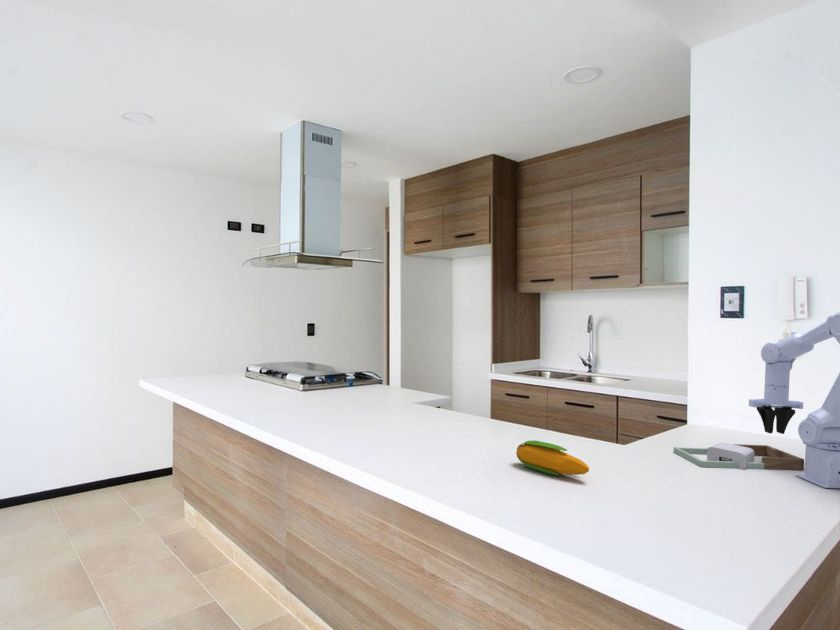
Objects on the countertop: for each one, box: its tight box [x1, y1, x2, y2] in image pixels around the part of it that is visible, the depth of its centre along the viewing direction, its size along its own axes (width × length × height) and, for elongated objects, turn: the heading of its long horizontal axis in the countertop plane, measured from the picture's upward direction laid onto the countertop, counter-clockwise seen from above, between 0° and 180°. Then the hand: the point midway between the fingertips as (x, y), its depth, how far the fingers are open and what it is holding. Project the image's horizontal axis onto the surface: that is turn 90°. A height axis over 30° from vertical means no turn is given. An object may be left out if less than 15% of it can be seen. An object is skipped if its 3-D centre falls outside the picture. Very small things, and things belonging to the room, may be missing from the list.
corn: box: [515, 440, 590, 477], centre depth 126 cm, size 7×8×20 cm
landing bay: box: [673, 446, 765, 470], centre depth 143 cm, size 14×18×2 cm
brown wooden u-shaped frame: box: [732, 443, 805, 471], centre depth 144 cm, size 14×11×3 cm
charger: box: [706, 442, 755, 470], centre depth 144 cm, size 5×9×15 cm
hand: (774, 432), depth 144 cm, fingers open, 3 cm apart
